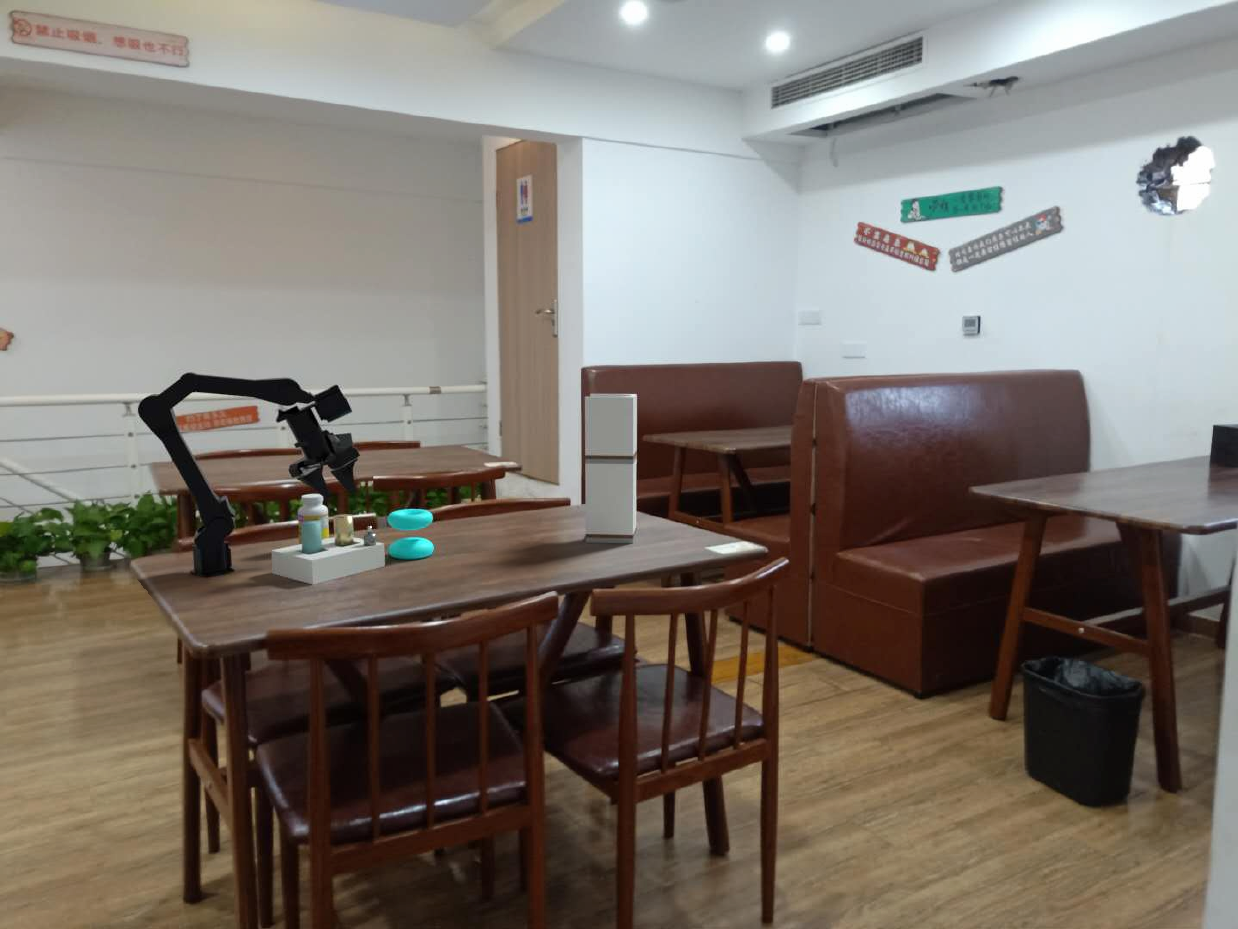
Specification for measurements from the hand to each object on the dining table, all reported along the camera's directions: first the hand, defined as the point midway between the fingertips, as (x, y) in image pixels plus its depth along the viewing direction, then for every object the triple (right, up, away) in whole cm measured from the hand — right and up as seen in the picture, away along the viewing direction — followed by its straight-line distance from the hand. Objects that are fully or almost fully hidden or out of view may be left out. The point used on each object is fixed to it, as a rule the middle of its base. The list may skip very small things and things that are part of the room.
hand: (341, 496), depth 199 cm
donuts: (+14, -14, +7) cm, 21 cm away
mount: (-1, -15, -6) cm, 17 cm away
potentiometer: (+8, -10, -5) cm, 14 cm away
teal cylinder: (-3, -12, -10) cm, 16 cm away
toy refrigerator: (+59, -11, +24) cm, 65 cm away
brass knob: (+2, -11, -3) cm, 12 cm away
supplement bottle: (-10, -13, +12) cm, 20 cm away
